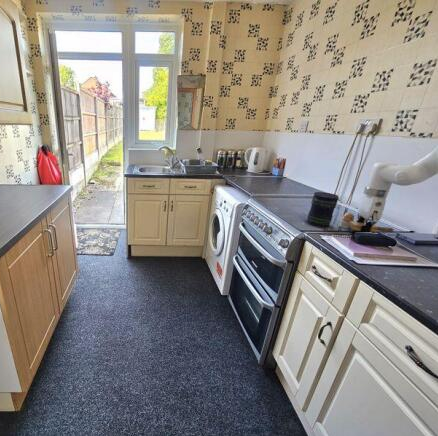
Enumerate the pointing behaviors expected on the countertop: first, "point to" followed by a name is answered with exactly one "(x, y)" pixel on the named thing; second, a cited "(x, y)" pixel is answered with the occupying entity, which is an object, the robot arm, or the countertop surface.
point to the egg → (346, 220)
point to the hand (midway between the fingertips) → (361, 231)
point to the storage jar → (322, 209)
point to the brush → (358, 225)
